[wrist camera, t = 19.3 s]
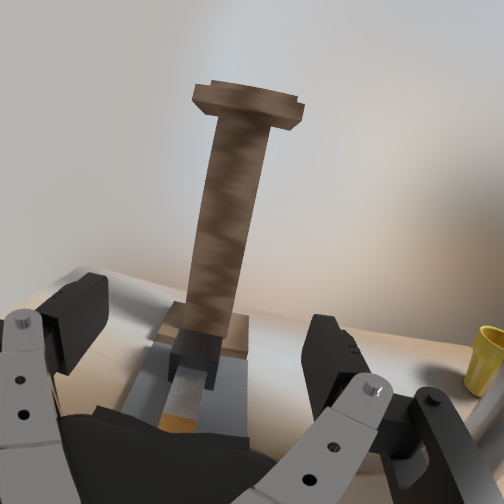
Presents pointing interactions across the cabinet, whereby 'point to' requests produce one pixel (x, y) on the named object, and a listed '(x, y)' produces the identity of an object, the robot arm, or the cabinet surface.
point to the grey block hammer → (189, 379)
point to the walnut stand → (228, 209)
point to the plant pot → (484, 359)
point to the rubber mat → (213, 402)
